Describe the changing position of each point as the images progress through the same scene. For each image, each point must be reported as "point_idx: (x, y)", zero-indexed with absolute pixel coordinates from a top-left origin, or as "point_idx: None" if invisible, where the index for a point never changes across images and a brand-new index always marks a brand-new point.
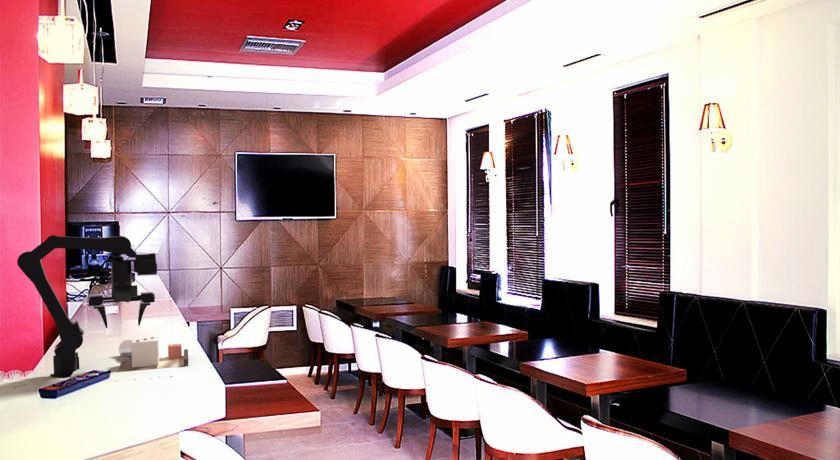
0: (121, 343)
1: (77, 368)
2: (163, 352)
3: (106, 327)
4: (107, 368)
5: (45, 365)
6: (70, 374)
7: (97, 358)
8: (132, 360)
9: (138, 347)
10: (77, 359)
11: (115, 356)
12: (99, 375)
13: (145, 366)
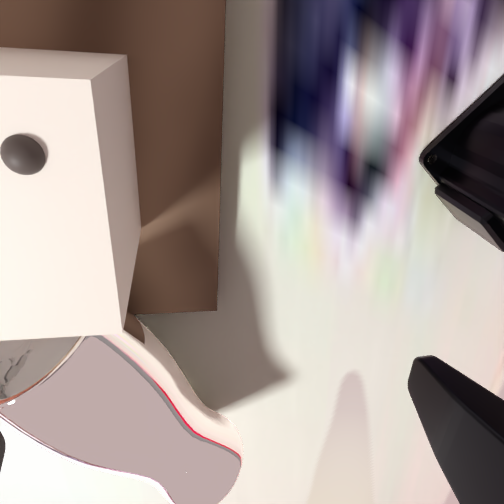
0: (232, 480)
1: (455, 174)
2: (50, 481)
3: (430, 359)
4: (288, 231)
5: (500, 384)
6: (497, 89)
7: (319, 441)
8: (114, 58)
9: (17, 66)
10: (488, 197)
11: (252, 456)
12: (341, 25)
13: (18, 38)
